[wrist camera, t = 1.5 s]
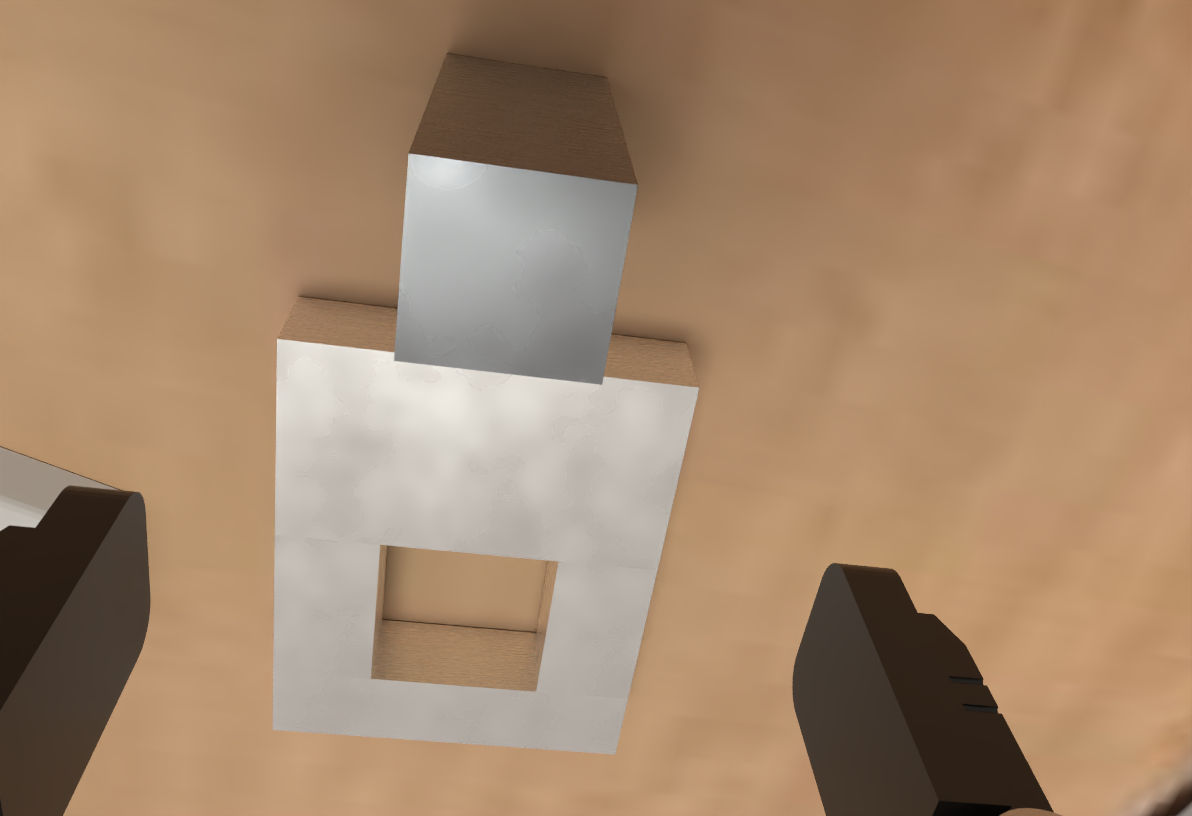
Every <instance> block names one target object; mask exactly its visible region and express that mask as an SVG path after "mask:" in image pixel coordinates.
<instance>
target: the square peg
mask: <svg viewBox="0 0 1192 816" xmlns="http://www.w3.org/2000/svg"><path fill="white" fill-rule="evenodd" d="M637 188H638V183H637V180H636V177H635V173H634V170H633V166H632V163H631V159H630V156H629V153H628V149H627V146H626V142H625V139H624V136H623V132H622V129H621V125H620V122H619V118H618V115H617V112H616V108H615V105H614V101H613V98H612V95H611V91H610V88H609V84H608V81H607V78H606V77H601V76H594V75H588V74H581V73H575V72H568V71H561V70H555V69H548V68H541V67H535V66H528V65H521V64H515V63H508V62H501V61H495V60H488V59H481V58H475V57H468V56H461V55H455V54H448V53H447V55H446V57H445V60H444V63H443V65H442V68H441V70H440V73H439V76H438V78H437V81H436V83H435V86H434V89H433V91H432V94H431V96H430V99H429V102H428V104H427V107H426V109H425V112H424V115H423V117H422V120H421V122H420V125H419V128H418V130H417V133H416V135H415V138H414V141H413V143H412V146H411V149H410V151H409V155H408V170H407V184H406V198H405V212H404V226H403V240H402V254H401V268H400V283H399V297H398V311H397V325H396V339H395V353H394V361H399V362H407V363H416V364H425V365H434V366H442V367H451V368H460V369H469V370H477V371H486V372H495V373H504V374H512V375H521V376H530V377H539V378H547V379H556V380H565V381H574V382H582V383H591V384H600V385H602V383H603V378H604V372H605V366H606V361H607V355H608V350H609V344H610V339H611V333H612V327H613V322H614V316H615V311H616V305H617V299H618V294H619V288H620V283H621V277H622V272H623V266H624V260H625V255H626V249H627V244H628V238H629V232H630V227H631V221H632V216H633V210H634V205H635V199H636V193H637Z"/></svg>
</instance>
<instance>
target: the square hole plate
mask: <svg viewBox="0 0 1192 816" xmlns="http://www.w3.org/2000/svg"><path fill="white" fill-rule="evenodd" d="M397 311H398V308H389V307H381V306H373V305H364V304H356V303H348V302H340V301H331V300H323V299H315V298H306V297H298V299H297V301H296V303H295V305H294V307H293V309H292V310H291V312H290V314H289V316H288V318H287V320H286V322H285V324H284V326H283V328H282V330H281V332H280V334H279V336H278V338H277V401H276V488H275V576H274V663H273V730H282V731H296V732H310V733H324V734H338V735H352V736H366V737H380V738H394V739H408V740H422V741H436V742H450V743H464V744H478V745H492V746H506V747H520V748H534V749H548V750H561V751H575V752H589V753H603V754H615V753H616V749H617V744H618V740H619V735H620V731H621V727H622V722H623V718H624V714H625V709H626V705H627V701H628V696H629V692H630V688H631V683H632V679H633V675H634V670H635V666H636V661H637V657H638V653H639V648H640V644H641V640H642V635H643V631H644V627H645V622H646V618H647V614H648V609H649V605H650V600H651V596H652V592H653V587H654V583H655V579H656V574H657V570H658V566H659V561H660V557H661V553H662V548H663V544H664V540H665V535H666V531H667V526H668V522H669V518H670V513H671V509H672V505H673V500H674V496H675V492H676V487H677V483H678V479H679V474H680V470H681V465H682V461H683V457H684V452H685V448H686V444H687V439H688V435H689V431H690V426H691V422H692V418H693V413H694V409H695V405H696V400H697V396H698V391H699V385H698V381H697V378H696V375H695V371H694V368H693V365H692V361H691V358H690V354H689V351H688V348H687V344H686V343H679V342H671V341H663V340H654V339H646V338H638V337H630V336H621V335H613V334H611V339H610V344H609V350H608V355H607V361H606V366H605V372H604V378H603V383H602V385H600V384H591V383H582V382H574V381H565V380H556V379H547V378H539V377H530V376H521V375H512V374H504V373H495V372H486V371H477V370H469V369H460V368H451V367H442V366H434V365H425V364H416V363H407V362H399V361H394V353H395V339H396V325H397ZM388 545H389V546H399V547H410V548H421V549H431V550H442V551H453V552H463V553H474V554H485V555H496V556H506V557H517V558H528V559H538V560H548V564H547V570H546V576H545V582H544V588H543V594H542V600H541V606H540V612H539V618H538V624H537V630H536V633H531V632H519V631H508V630H496V629H484V628H472V627H461V626H449V625H437V624H425V623H414V622H402V621H390V620H382V614H383V601H384V588H385V574H386V561H387V548H388Z"/></svg>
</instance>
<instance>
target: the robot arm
mask: <svg viewBox="0 0 1192 816" xmlns="http://www.w3.org/2000/svg"><path fill="white" fill-rule="evenodd" d="M149 614H150V583H149V566H148V548H147V530H146V512H145V504H144V500H143V497H142V495H141V494H140V493H139V492H132V491H122V490H112V489H102V488H92V487H81V486H71V485H70V486H67V487H66V488H64V489H63V490H62V491H61V493H60V494H59V495H58V497H57V498H56V500H55V501H54V502H53V504H52V505H51V507H50V508H49V509H48V511H47V512H46V514H45V515H44V516H43V518H42V519H41V521H40V522H39V523H38V525H37V526H36V528H33V527H22V526H12V525H9V526H7V527H6V528H4V529H3V530H1V531H0V816H63V814H64V812H65V810H66V808H67V806H68V804H69V802H70V800H71V797H72V795H73V793H74V791H75V789H76V787H77V785H78V783H79V781H80V779H81V777H82V774H83V772H84V770H85V768H86V766H87V764H88V762H89V760H90V758H91V756H92V753H93V751H94V749H95V747H96V745H97V743H98V741H99V739H100V737H101V735H102V733H103V730H104V728H105V726H106V724H107V722H108V720H109V718H110V716H111V714H112V712H113V710H114V707H115V705H116V703H117V701H118V699H119V697H120V695H121V693H122V691H123V689H124V686H125V684H126V682H127V680H128V678H129V676H130V674H131V672H132V670H133V668H134V666H135V663H136V661H137V659H138V657H139V655H140V652H141V650H142V647H143V644H144V640H145V636H146V632H147V627H148V622H149ZM793 702H794V708H795V712H796V715H797V719H798V722H799V726H800V729H801V732H802V736H803V739H804V742H805V746H806V749H807V753H808V756H809V759H810V763H811V766H812V769H813V773H814V776H815V780H816V783H817V786H818V790H819V793H820V796H821V800H822V803H823V807H824V810H825V813H826V816H1061V815H1059V814H1056V813H1054V812H1053V810H1052V808H1051V806H1050V804H1049V802H1048V800H1047V798H1046V796H1045V795H1044V793H1043V791H1042V789H1041V787H1040V785H1039V783H1038V781H1037V779H1036V778H1035V776H1034V774H1033V772H1032V770H1031V768H1030V766H1029V764H1028V762H1027V760H1026V759H1025V757H1024V755H1023V753H1022V751H1021V749H1020V747H1019V745H1018V743H1017V742H1016V740H1015V738H1014V736H1013V734H1012V732H1011V730H1010V728H1009V726H1008V725H1007V723H1006V721H1005V719H1004V717H1003V715H1002V714H998V711H997V709H998V706H997V704H996V702H995V700H994V698H993V696H992V694H991V692H990V691H989V689H988V687H987V686H985V685H983V677H982V675H981V673H980V672H979V670H978V668H977V666H976V664H975V662H974V660H973V658H972V656H971V655H970V653H969V651H968V649H967V647H966V645H965V644H964V643H963V642H962V641H961V640H960V639H959V638H958V637H957V636H955V635H954V634H953V633H952V632H951V631H950V630H949V629H948V628H947V627H946V626H945V625H944V624H943V623H942V622H941V621H940V620H939V619H938V618H937V617H936V616H935V615H934V614H924V613H917V611H916V609H915V607H914V604H913V602H912V600H911V598H910V596H909V594H908V592H907V590H906V588H905V586H904V584H903V582H902V580H901V578H900V576H899V575H898V573H897V572H896V571H895V570H893V569H888V568H878V567H868V566H858V565H848V564H838V563H833V564H831V565H830V566H828V568H827V569H826V571H825V573H824V575H823V577H822V580H821V583H820V586H819V589H818V592H817V595H816V598H815V601H814V605H813V608H812V611H811V614H810V617H809V620H808V623H807V626H806V629H805V632H804V635H803V638H802V641H801V644H800V647H799V650H798V653H797V656H796V660H795V665H794V671H793Z"/></svg>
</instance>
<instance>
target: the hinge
mask: <svg viewBox="0 0 1192 816" xmlns="http://www.w3.org/2000/svg"><path fill="white" fill-rule="evenodd" d="M70 485H71V486H81V487H92V488H102V489H112V490H118V489H115V488H113V487H110V486H107V485H104V484H101V483H99V482H96V481H93V480H90V479H88V478H85V477H82V476H79V475H77V474H74V473H71V472H68V471H66V470H63V469H60V468H57V467H54V466H52V465H49V464H46V463H43V462H41V461H38V460H35V459H32V458H30V457H27V456H24V455H21V454H19V453H16V452H13V451H10V450H7V449H5V448H2V447H0V531H1V530H3V529H4V528H6V527H7V526H9V525H12V526H22V527H33V528H36V526H37V525H38V523H39V522H40V521H41V519H42V518H43V516H44V515H45V514H46V512H47V511H48V509H49V508H50V507H51V505H52V504H53V502H54V501H55V500H56V498H57V497H58V495H59V494H60V493H61V491H62V490H63V489H64V488H66V487H67V486H70Z"/></svg>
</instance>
